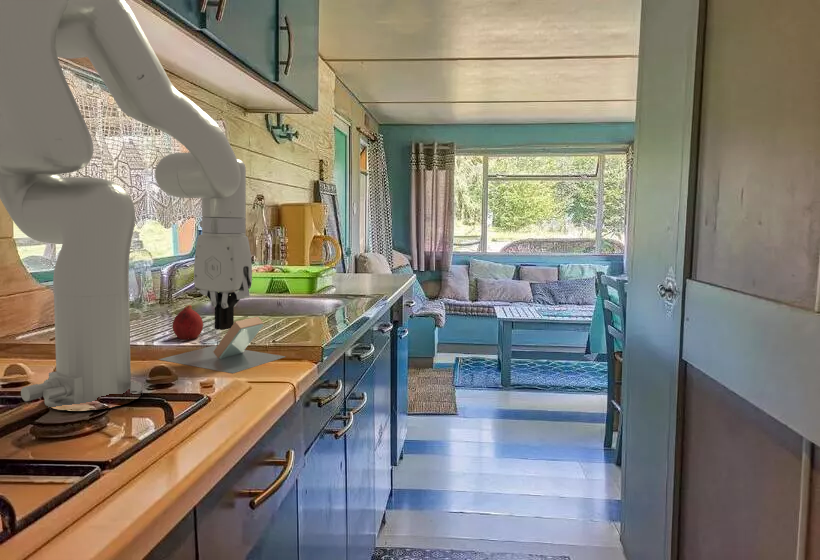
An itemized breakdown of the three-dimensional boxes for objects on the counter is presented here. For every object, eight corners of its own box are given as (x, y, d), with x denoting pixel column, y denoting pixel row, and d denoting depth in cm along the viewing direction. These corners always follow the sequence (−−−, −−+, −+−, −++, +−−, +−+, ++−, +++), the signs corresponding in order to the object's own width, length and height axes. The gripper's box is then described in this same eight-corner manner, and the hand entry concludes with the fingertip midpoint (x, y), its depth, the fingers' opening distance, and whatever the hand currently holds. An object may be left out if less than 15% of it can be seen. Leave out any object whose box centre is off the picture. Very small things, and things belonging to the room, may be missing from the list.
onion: (193, 347, 124) (192, 307, 123) (167, 345, 125) (166, 306, 125) (208, 341, 130) (208, 303, 129) (183, 339, 131) (182, 302, 130)
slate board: (232, 380, 102) (232, 373, 102) (158, 366, 109) (158, 359, 109) (286, 362, 114) (286, 356, 114) (216, 351, 122) (216, 345, 122)
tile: (219, 359, 111) (241, 329, 108) (212, 351, 111) (235, 321, 108) (242, 353, 116) (264, 324, 113) (236, 345, 117) (258, 316, 114)
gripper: (177, 226, 111) (178, 327, 113) (242, 229, 105) (242, 336, 107) (207, 226, 118) (208, 321, 120) (270, 229, 112) (270, 329, 114)
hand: (224, 328), depth 114 cm, fingers closed
